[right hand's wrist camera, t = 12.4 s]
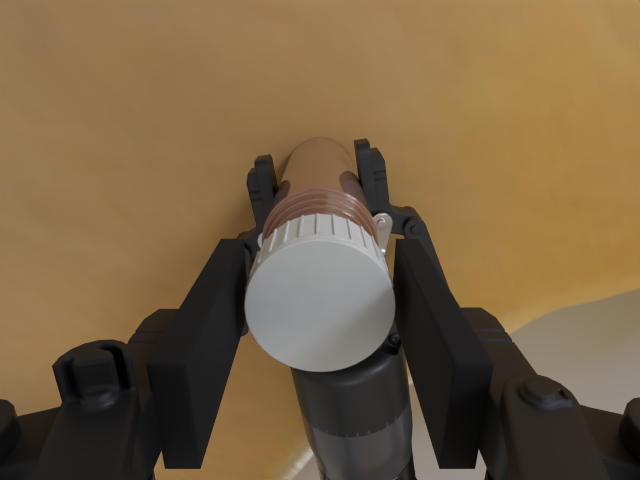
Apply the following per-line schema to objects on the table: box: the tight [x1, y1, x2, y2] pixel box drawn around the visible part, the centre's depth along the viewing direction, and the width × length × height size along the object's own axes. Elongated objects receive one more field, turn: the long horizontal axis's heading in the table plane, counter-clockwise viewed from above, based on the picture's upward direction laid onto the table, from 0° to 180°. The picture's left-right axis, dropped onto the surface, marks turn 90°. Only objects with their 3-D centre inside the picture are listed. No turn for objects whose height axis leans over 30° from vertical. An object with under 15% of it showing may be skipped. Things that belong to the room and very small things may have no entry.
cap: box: [244, 213, 396, 372], centre depth 13 cm, size 4×4×2 cm
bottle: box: [262, 138, 378, 246], centre depth 21 cm, size 5×5×19 cm
